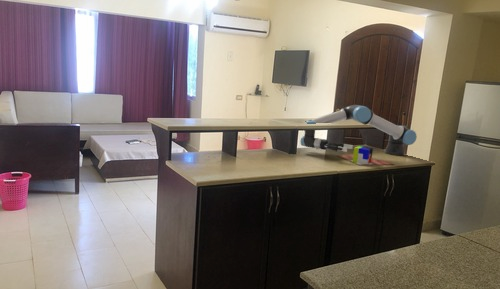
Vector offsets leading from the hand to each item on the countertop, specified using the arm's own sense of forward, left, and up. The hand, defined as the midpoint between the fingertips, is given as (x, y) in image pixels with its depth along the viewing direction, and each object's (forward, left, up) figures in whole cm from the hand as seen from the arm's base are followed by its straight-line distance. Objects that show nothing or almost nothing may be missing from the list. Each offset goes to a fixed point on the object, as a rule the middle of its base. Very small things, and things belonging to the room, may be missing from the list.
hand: (349, 148), depth 275 cm
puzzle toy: (-6, +7, -8) cm, 12 cm away
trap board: (-14, -1, -9) cm, 16 cm away
